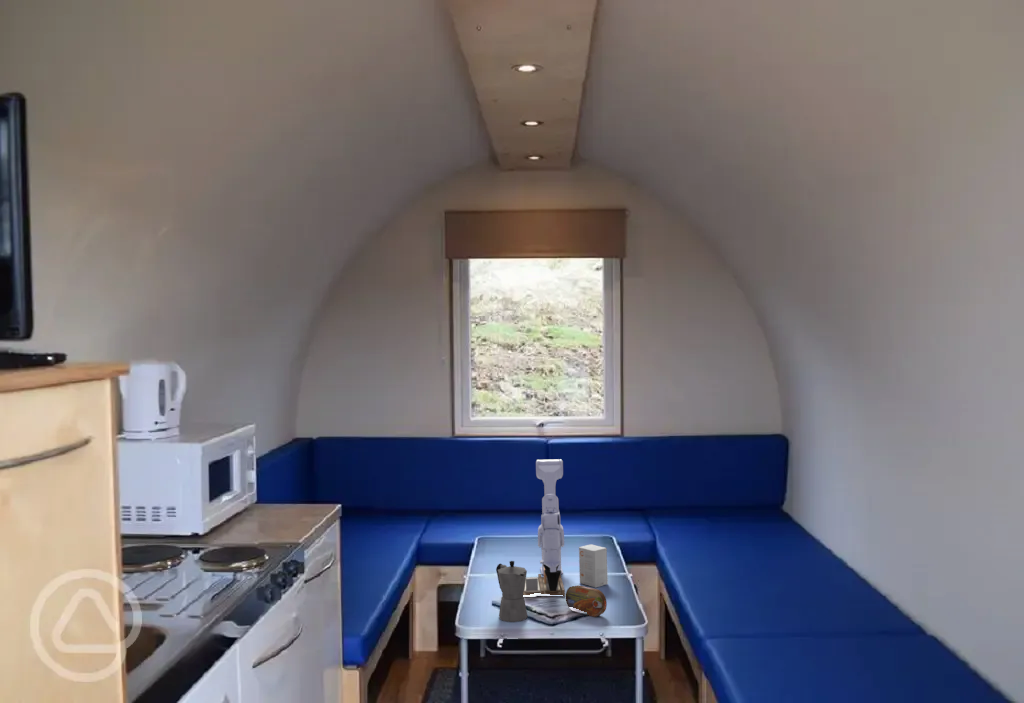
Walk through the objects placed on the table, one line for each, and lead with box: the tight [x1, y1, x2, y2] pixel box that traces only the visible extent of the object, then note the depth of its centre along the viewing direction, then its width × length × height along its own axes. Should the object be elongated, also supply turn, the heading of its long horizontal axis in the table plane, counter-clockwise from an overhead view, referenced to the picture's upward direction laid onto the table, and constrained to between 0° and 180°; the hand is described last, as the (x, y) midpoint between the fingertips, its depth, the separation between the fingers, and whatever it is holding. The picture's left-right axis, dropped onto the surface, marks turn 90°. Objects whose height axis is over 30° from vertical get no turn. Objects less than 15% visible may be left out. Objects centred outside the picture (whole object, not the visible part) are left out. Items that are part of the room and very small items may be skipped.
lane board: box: [523, 573, 566, 597], centre depth 307 cm, size 20×15×2 cm
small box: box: [578, 543, 608, 589], centre depth 311 cm, size 8×6×13 cm
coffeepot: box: [495, 560, 528, 623], centre depth 278 cm, size 15×9×18 cm, turn 33°
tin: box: [564, 585, 608, 618], centre depth 280 cm, size 15×3×8 cm, turn 47°
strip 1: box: [524, 576, 540, 593], centre depth 307 cm, size 15×5×5 cm, turn 1°
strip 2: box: [542, 577, 560, 592], centre depth 307 cm, size 15×5×5 cm, turn 1°
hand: (552, 587), depth 301 cm, fingers open, 7 cm apart
